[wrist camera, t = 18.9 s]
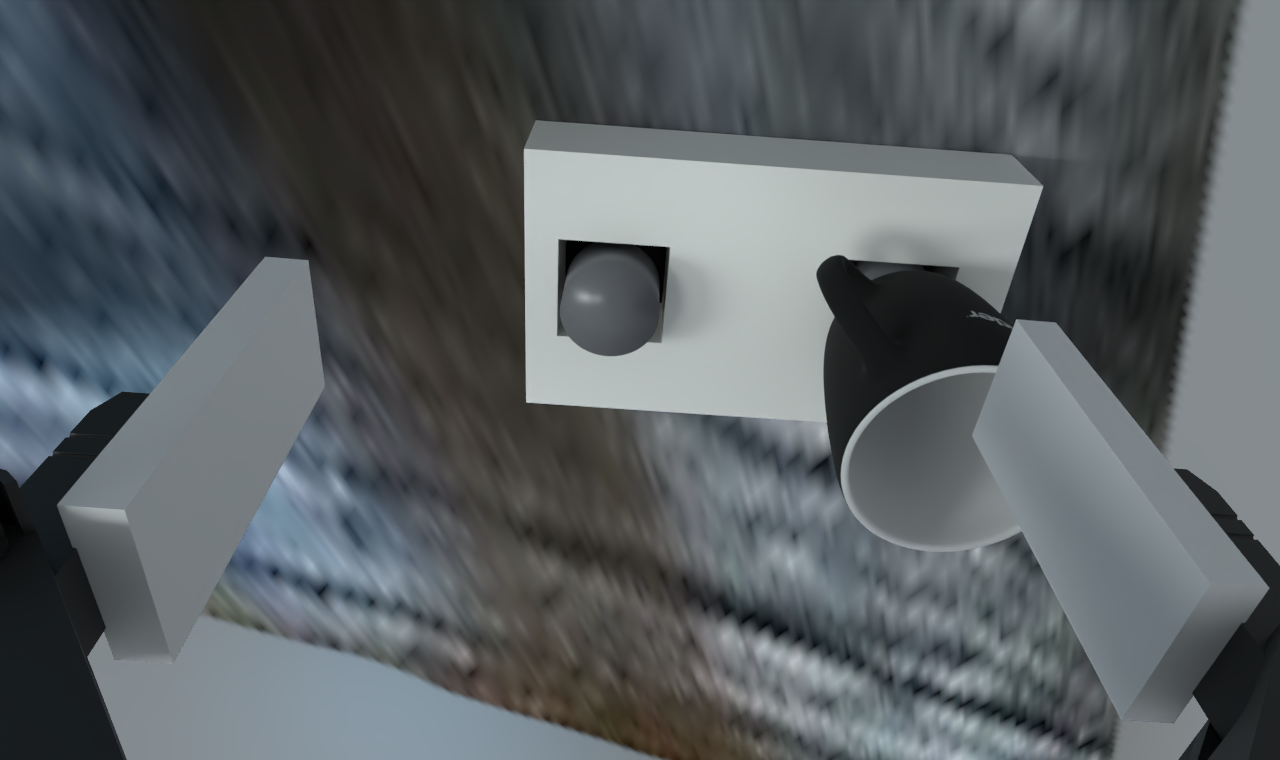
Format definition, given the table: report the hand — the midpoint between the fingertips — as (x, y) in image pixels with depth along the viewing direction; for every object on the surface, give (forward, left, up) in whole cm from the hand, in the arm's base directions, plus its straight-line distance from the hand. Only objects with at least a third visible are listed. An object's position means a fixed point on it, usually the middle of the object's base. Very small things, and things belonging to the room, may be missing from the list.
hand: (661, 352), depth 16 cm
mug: (+11, -10, -22) cm, 26 cm away
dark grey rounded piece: (-2, -10, -22) cm, 25 cm away
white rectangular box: (+5, -10, -25) cm, 28 cm away
